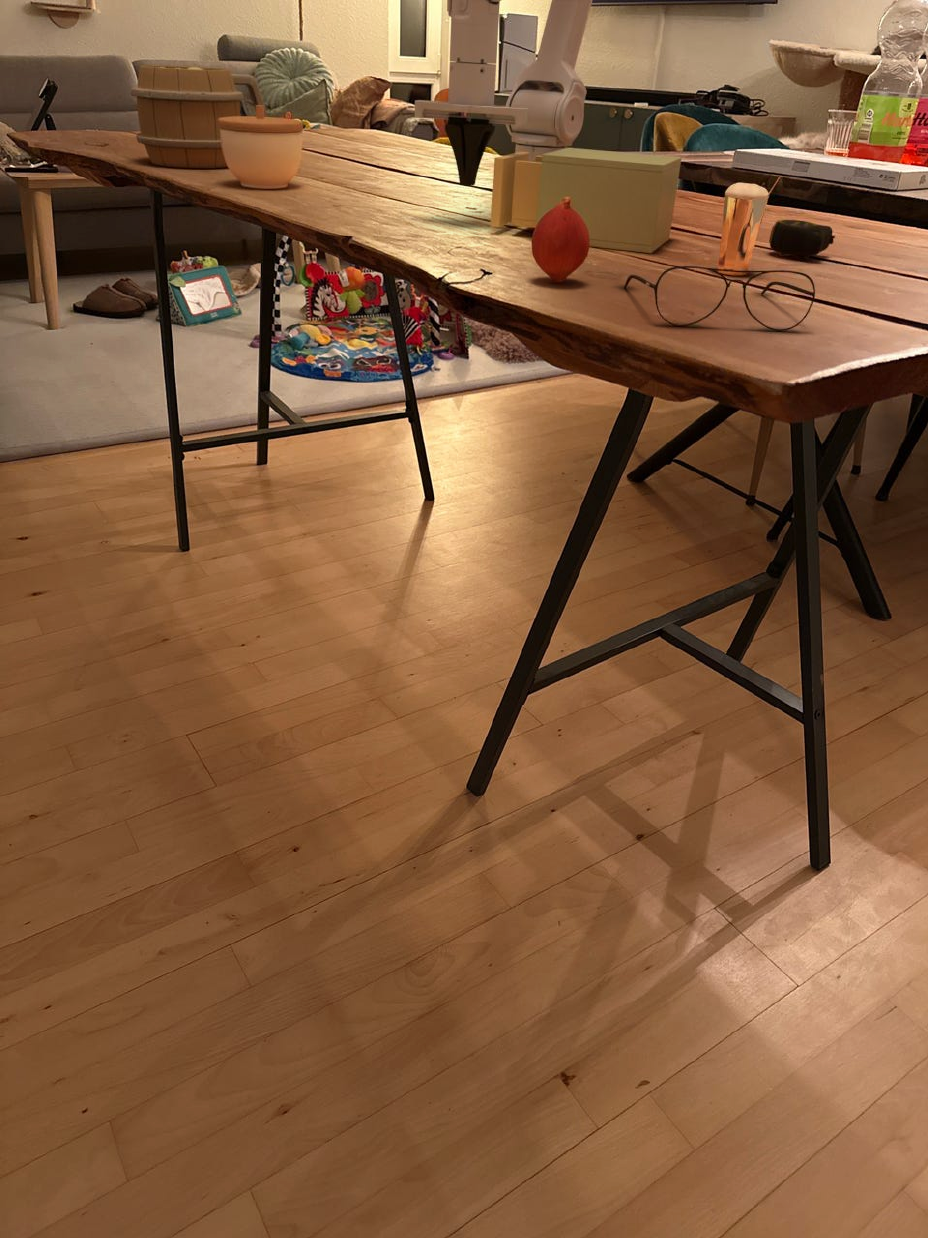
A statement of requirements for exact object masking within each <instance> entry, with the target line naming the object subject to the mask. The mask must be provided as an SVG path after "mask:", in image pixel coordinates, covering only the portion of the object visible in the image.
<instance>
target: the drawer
mask: <svg viewBox="0 0 928 1238" xmlns="http://www.w3.org/2000/svg"><path fill="white" fill-rule="evenodd" d="M493 159H494V160H493V163H494V164H493V173H492V192H491V193H492V194H491V208H490V209H491V210H490V211H491V212H490V227H493V228H501V227H503V226H506V225H508V224H510V226H515V227H523V228H525V227H526V228H531V229H532V228H533V229H535V227H536V225H537V214H538V201H539V189H540V177H541V165H542V156H536V159H535V162H530V161H529V152H518V153H515V152H514V153H509V154H504V155H501V156H495V157H494V158H493Z"/></svg>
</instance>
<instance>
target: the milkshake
mask: <svg viewBox="0 0 928 1238" xmlns="http://www.w3.org/2000/svg"><path fill="white" fill-rule="evenodd" d="M780 179H781V176H779V177H778V178H777V180H776V181H775V183H774V184H773V186H772V187H771V189H770V191H768V190H767V189H766V188H765V187H763V186H761V185H758V184H756V183H748V182H747V183H746V182H736V183H733V184H731V185H729V186H728V187H727V189H726V190H725V191H724V202H723V214H722V228H721V229H722V230H721V231H722V232H721V239H720V248H719V255H718V264H717V269H725V270H737V271H749V267H750V265H751V261H752V255H753V253H754V249H755V245H756V241H757V239H758V238H757V237H758V234H759V230H760V227H761V224H762V221H763V218H764V215H765V211H766V208H767V204H768V200H769V197H770V195H771V193H772V191H773V190H774V188H775V186H776V185H777V183H778V182H779V180H780ZM717 272H719V273H721V274H722V275H725V276H734V277H735V276H738V277H739V276H740V277H741V276H742V277H743V276H746V275H748V272H729V271H719V270H717Z"/></svg>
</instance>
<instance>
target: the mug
mask: <svg viewBox="0 0 928 1238" xmlns="http://www.w3.org/2000/svg"><path fill="white" fill-rule="evenodd" d="M138 70H139V71H138V76H137V84H136V86H133V87H131V88H130V96H131V97H136V107H137V115H138V122H139V123H138V124H139V130H140V132H139V133H136V134H135V137H136V140H137V141H136V142H137V143H138V144H141V145H144V147H145V150H146V153H147V156H148V158H149V160H150V163H151V164H152V165H156V166H159V167H167V168H177V169H223V168H224V169H227V168H228V166H227V164H226V162H225V159H224V155H223V152H222V147H221V140H220V128H219V127H218V119H219V118H222V117H234V116H241V108H240V101H243V100H244V99H245V98H244V94H243V92H242V91H240V90H237V88H236V86H246V88H247V90H248V92H249V95H250V98H251V101H252V104H253V108H254V111H255V112H256V105H262V106H264V117H268V113H267V108H266V105H265V102H264V99H263V95H262V92H261V89H260V87H259V83H258V80H257V79H256V78H255V76H254V75H251V74H243V73H231V70H230V69H227V68H219V67H218V68H216V67H203V66H202V67H201V66H182V65H152V64H151V65H148V64H147V65H140V66H139V69H138Z"/></svg>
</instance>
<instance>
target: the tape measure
mask: <svg viewBox="0 0 928 1238" xmlns="http://www.w3.org/2000/svg"><path fill="white" fill-rule="evenodd" d="M833 233H834V231H833V228H832V227H831V226H829V225H824V224H823V225H822V224H818V223H815V222H811V221H808V220H807V221H806V220H797V219H780V220H779V219H778V220H777V221H776V222H775V223H774V225H773V226H772V228H771V231H770V235H769V241H768V243H769V247H770V249H771V250H772V251H775V252H777V253H779V256H780V257H782V256H783V257H785V256H801V257H802V256H803V257H804V258H806V259H810V256H811V257H812V256H817V255H818V254H819V253H822V252H824V251H826V250H827V249H828V248H829V247H830V245H833V244H834V239H835V238H836V235H833Z"/></svg>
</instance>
